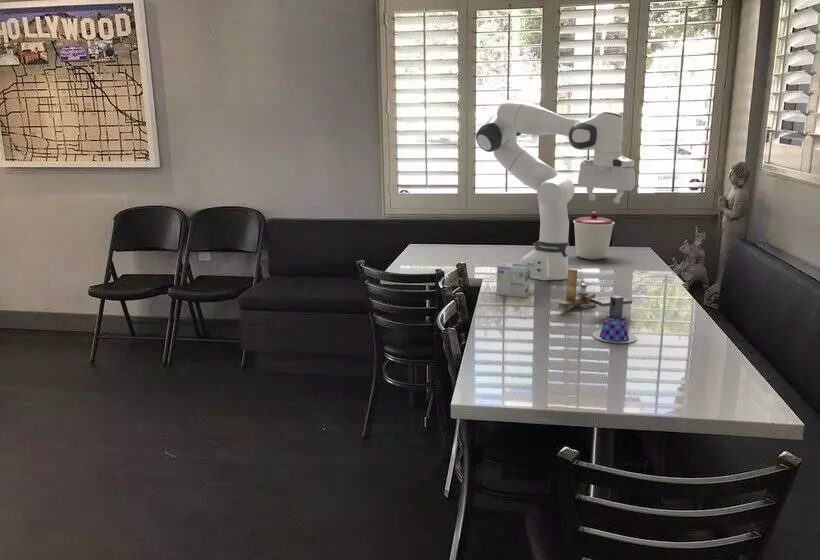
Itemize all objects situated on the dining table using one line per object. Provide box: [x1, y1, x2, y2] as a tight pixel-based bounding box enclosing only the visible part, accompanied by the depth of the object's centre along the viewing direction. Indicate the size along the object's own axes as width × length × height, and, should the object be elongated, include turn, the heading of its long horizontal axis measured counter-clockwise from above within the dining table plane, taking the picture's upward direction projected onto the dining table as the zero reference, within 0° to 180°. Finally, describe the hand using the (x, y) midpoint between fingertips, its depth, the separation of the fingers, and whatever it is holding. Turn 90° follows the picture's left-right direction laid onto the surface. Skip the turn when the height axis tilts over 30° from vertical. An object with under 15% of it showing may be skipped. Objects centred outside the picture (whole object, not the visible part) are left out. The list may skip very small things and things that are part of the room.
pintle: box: [573, 282, 597, 308], centre depth 221 cm, size 9×9×7 cm
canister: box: [572, 211, 615, 261], centre depth 298 cm, size 18×18×21 cm
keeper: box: [590, 294, 633, 321], centre depth 207 cm, size 8×11×7 cm
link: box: [557, 268, 596, 311], centre depth 216 cm, size 18×6×12 cm, turn 141°
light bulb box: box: [495, 262, 531, 298], centre depth 234 cm, size 11×7×11 cm, turn 65°
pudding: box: [592, 318, 637, 344], centre depth 187 cm, size 12×12×5 cm
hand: (603, 201), depth 225 cm, fingers open, 8 cm apart
